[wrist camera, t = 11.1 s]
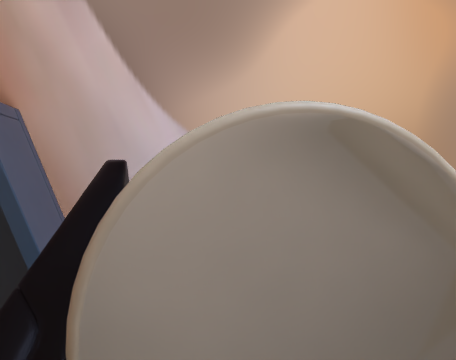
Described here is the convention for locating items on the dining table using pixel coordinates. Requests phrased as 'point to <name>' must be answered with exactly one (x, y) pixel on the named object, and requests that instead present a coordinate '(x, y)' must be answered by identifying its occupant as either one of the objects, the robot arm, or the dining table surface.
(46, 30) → the dining table surface
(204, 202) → the light grey piece
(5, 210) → the box
